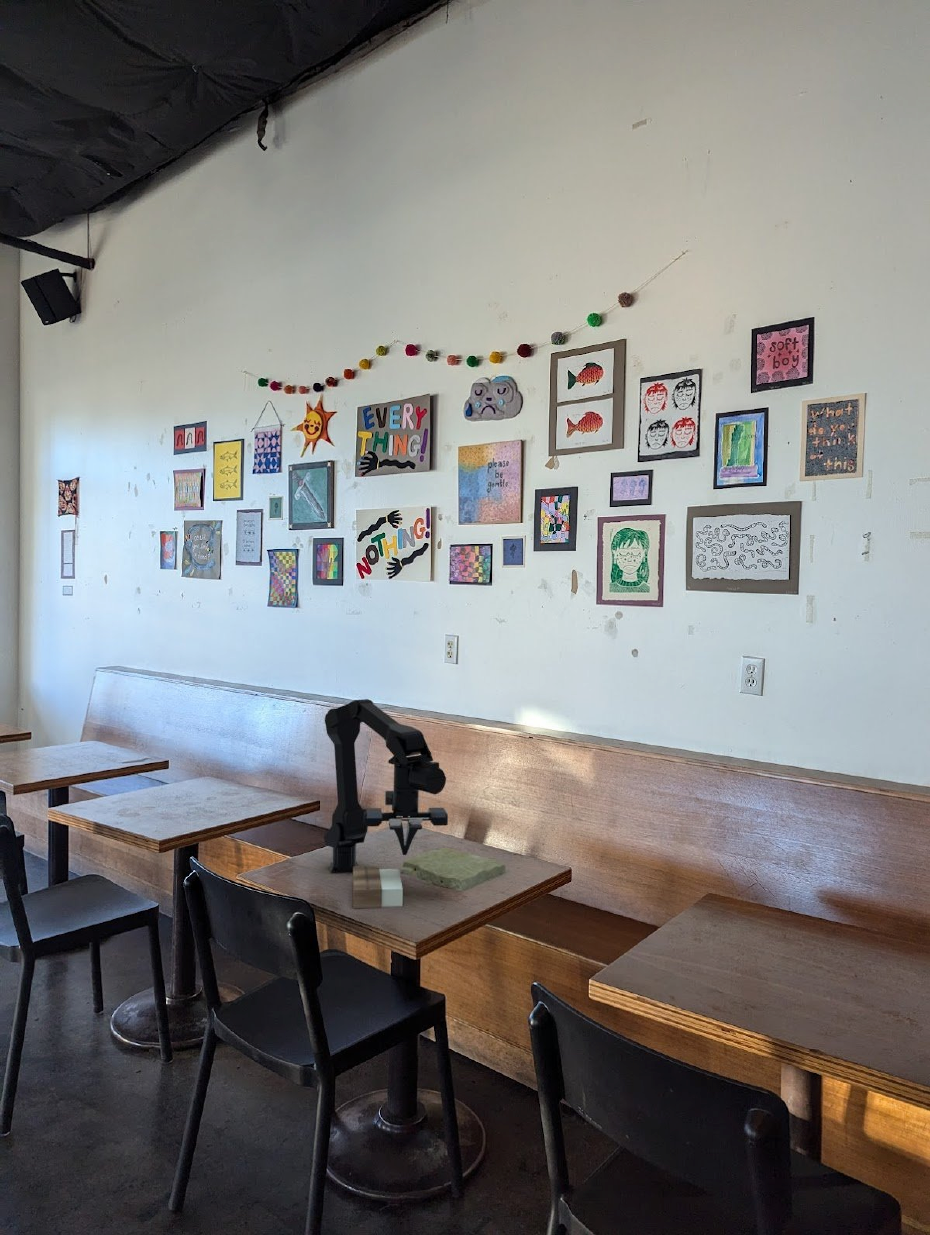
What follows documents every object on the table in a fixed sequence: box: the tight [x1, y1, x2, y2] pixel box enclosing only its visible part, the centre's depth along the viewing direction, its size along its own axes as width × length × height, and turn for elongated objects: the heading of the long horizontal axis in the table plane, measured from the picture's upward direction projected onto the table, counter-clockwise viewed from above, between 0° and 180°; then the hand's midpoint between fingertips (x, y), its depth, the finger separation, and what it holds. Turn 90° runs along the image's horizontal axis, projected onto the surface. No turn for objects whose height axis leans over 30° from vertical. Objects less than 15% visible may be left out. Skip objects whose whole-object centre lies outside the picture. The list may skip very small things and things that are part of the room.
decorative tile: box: [400, 847, 507, 892], centre depth 209 cm, size 19×20×4 cm
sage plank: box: [379, 868, 404, 908], centre depth 193 cm, size 14×4×4 cm, turn 8°
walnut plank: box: [352, 865, 382, 909], centre depth 193 cm, size 16×6×4 cm, turn 8°
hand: (404, 854), depth 194 cm, fingers closed
